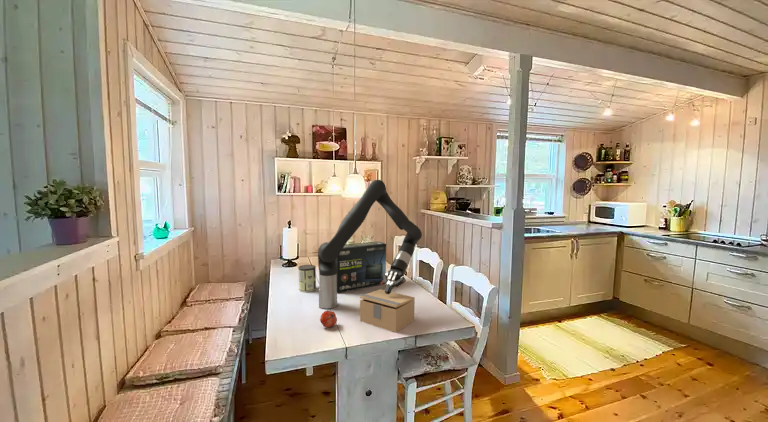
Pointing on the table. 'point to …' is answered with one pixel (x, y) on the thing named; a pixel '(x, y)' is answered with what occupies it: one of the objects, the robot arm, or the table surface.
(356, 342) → the table surface
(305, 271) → the coffee can
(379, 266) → the router box
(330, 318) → the pomegranate
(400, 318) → the cardboard box
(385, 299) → the box lid
